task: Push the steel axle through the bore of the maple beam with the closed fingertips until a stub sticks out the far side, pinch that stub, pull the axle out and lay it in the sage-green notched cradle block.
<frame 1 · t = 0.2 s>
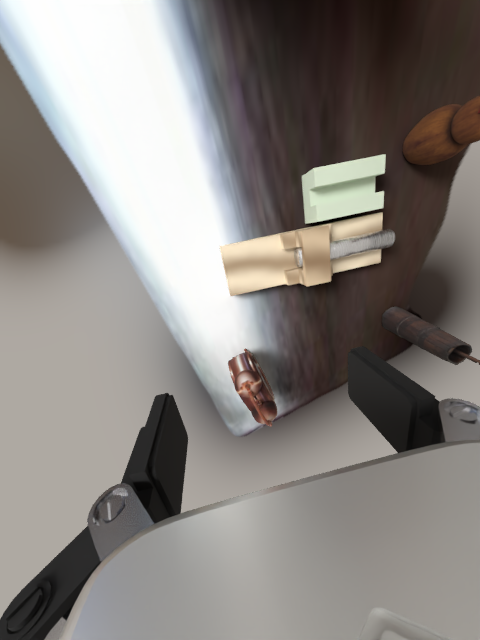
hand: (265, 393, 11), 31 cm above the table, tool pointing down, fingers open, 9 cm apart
butter churn: (386, 316, 48), on the table
maple beam: (299, 254, 40), on the table
cradle block: (334, 194, 38), on the table
alarm clock: (245, 363, 47), on the table
steel axle: (338, 247, 38), point 2 cm above the table, touching maple beam
wooden figurine: (412, 148, 37), on the table
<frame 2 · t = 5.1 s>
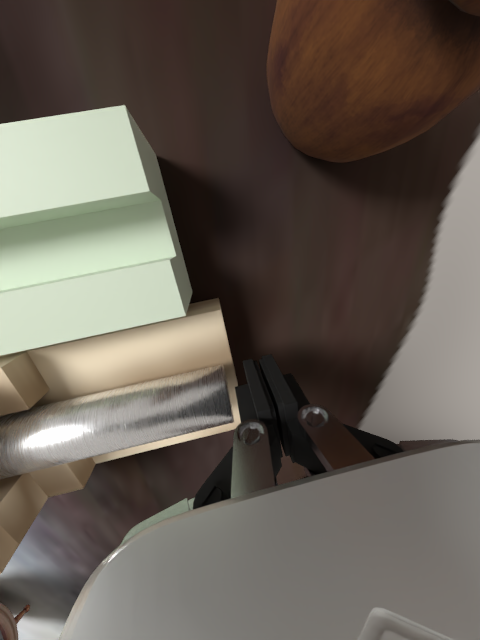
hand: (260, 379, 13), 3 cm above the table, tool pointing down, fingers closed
maple beam: (26, 401, 15), on the table
cradle block: (76, 249, 12), on the table
steel axle: (91, 409, 13), point 3 cm above the table, touching gripper
wooden figurine: (314, 108, 12), on the table
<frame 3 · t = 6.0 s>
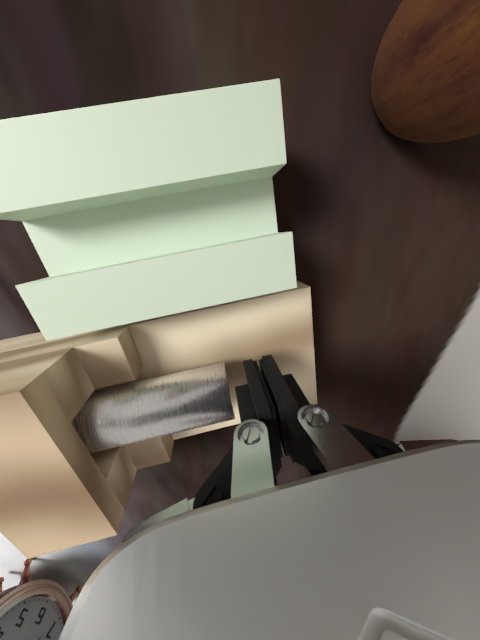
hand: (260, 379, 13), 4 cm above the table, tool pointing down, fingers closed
maple beam: (103, 379, 15), on the table
cradle block: (168, 229, 12), on the table
alarm clock: (44, 574, 22), on the table
steel axle: (93, 405, 13), point 2 cm above the table, touching gripper, maple beam
wooden figurine: (402, 92, 12), on the table
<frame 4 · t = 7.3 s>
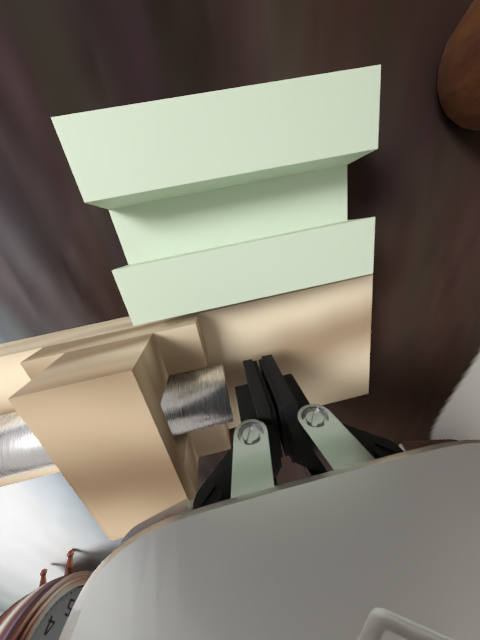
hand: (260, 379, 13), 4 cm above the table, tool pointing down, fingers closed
maple beam: (157, 370, 15), on the table
cradle block: (231, 219, 13), on the table
alarm clock: (83, 566, 22), on the table
steel axle: (92, 408, 13), point 2 cm above the table, touching gripper, maple beam
wooden figurine: (464, 82, 12), on the table
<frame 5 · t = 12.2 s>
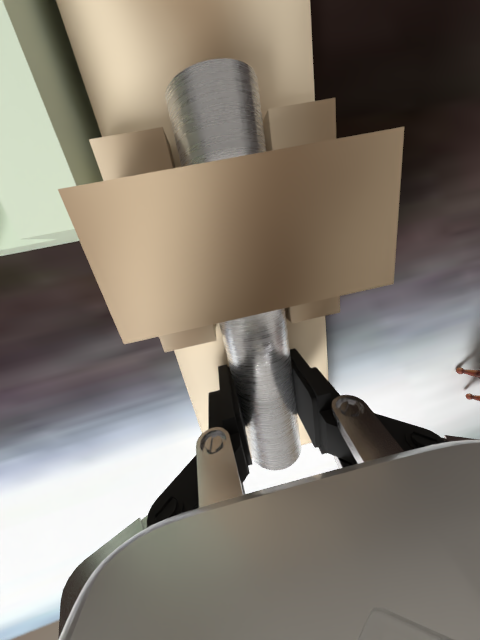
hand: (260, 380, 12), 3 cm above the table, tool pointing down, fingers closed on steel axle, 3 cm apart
maple beam: (229, 241, 13), on the table
cradle block: (4, 111, 10), on the table
steel axle: (247, 309, 11), point 2 cm above the table, touching gripper, maple beam
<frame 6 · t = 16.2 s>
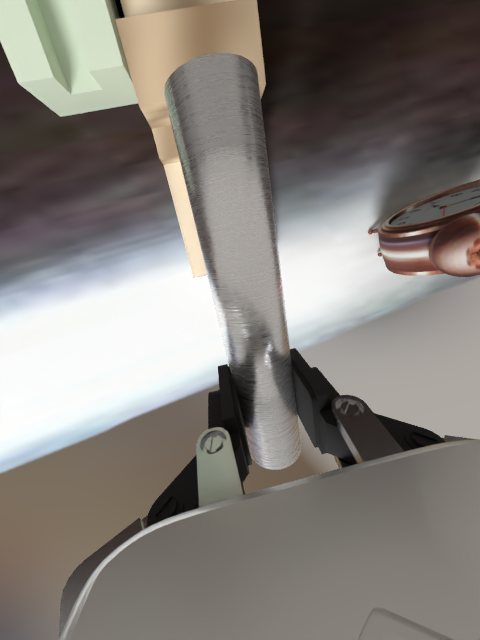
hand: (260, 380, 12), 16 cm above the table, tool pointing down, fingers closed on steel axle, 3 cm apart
maple beam: (201, 113, 20), on the table
cradle block: (73, 21, 17), on the table
alarm clock: (395, 230, 26), on the table
steel axle: (247, 308, 11), point 15 cm above the table, touching gripper
when the fingers open (5 cm above the table, at t = 20.3 s): steel axle stays where it is, resting on cradle block.
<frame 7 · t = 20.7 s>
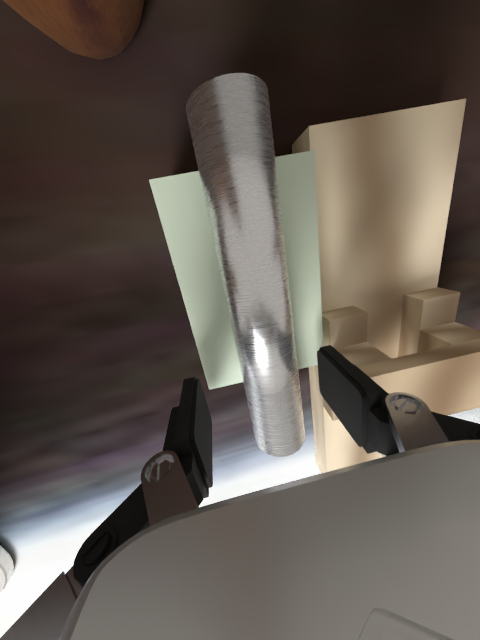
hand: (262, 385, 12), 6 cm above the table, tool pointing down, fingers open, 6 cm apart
maple beam: (355, 337, 19), on the table
cradle block: (242, 275, 16), on the table
steel axle: (253, 302, 12), point 4 cm above the table, touching cradle block
wooden figurine: (96, 1, 10), on the table
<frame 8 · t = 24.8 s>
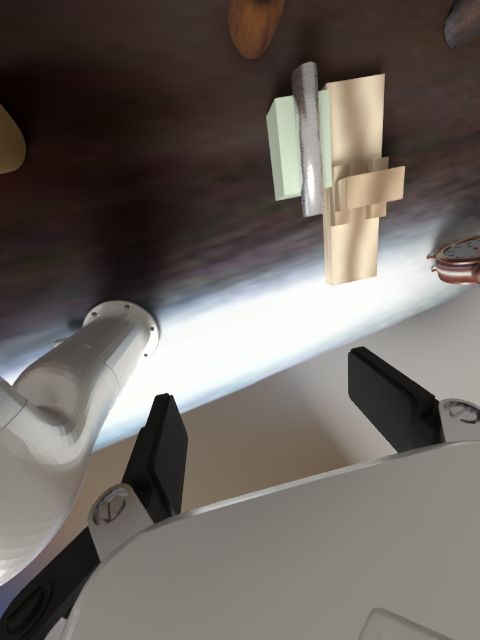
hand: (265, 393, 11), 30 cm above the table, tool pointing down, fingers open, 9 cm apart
butter churn: (455, 36, 32), on the table
maple beam: (346, 197, 37), on the table
cradle block: (293, 157, 34), on the table
alarm clock: (441, 256, 44), on the table
steel axle: (304, 154, 31), point 4 cm above the table, touching cradle block
wooden figurine: (250, 38, 29), on the table
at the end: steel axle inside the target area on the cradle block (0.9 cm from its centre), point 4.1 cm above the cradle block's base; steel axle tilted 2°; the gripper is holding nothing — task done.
